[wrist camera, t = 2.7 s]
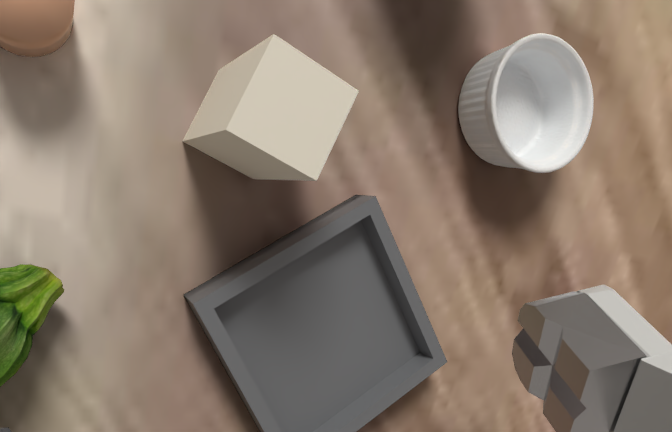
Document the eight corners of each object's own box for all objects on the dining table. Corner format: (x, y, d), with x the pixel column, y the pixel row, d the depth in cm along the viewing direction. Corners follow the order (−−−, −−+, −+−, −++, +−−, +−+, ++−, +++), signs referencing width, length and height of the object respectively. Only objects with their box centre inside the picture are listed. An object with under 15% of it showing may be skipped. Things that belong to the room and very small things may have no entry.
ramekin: (563, 94, 43) (612, 86, 39) (514, 195, 42) (560, 198, 38) (485, 20, 40) (531, 3, 36) (428, 128, 38) (470, 123, 34)
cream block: (253, 179, 33) (316, 180, 25) (182, 141, 31) (226, 129, 23) (286, 111, 34) (359, 90, 26) (218, 69, 32) (273, 34, 24)
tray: (276, 461, 35) (291, 481, 33) (183, 294, 32) (193, 303, 29) (424, 351, 39) (447, 361, 37) (355, 194, 36) (375, 196, 34)
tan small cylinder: (7, 69, 27) (0, 54, 24) (-40, -13, 26) (-56, -42, 23) (88, 39, 29) (92, 20, 25) (45, -40, 28) (43, -72, 24)
